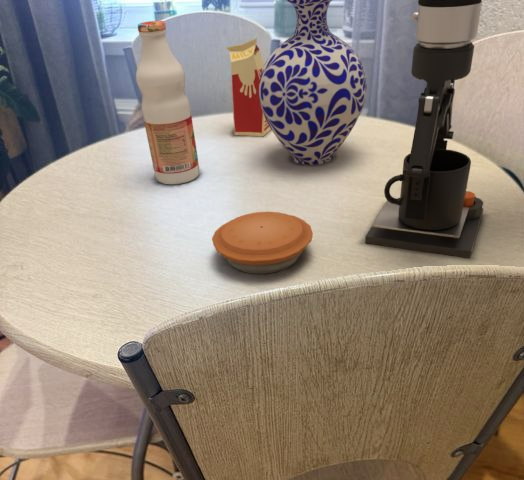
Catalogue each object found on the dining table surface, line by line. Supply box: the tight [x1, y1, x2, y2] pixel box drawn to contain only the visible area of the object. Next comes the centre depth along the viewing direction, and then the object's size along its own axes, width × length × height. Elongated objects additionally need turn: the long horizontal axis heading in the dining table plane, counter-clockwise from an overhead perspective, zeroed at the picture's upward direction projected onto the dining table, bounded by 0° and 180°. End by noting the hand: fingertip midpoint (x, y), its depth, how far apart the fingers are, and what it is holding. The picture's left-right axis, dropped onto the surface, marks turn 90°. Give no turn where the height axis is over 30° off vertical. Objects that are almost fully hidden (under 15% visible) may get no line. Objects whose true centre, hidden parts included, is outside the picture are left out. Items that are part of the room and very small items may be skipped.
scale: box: [364, 196, 484, 259], centre depth 86 cm, size 16×15×3 cm
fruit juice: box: [135, 20, 200, 185], centre depth 103 cm, size 9×9×28 cm
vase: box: [259, 0, 368, 166], centre depth 106 cm, size 22×22×30 cm
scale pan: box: [371, 200, 469, 238], centre depth 84 cm, size 13×10×1 cm
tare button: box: [463, 190, 476, 207], centre depth 87 cm, size 3×3×2 cm
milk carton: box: [225, 37, 271, 137], centre depth 126 cm, size 9×9×20 cm
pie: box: [211, 211, 314, 275], centre depth 83 cm, size 15×16×5 cm
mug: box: [383, 148, 472, 230], centre depth 80 cm, size 9×12×9 cm
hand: (424, 198), depth 82 cm, fingers open, 13 cm apart
